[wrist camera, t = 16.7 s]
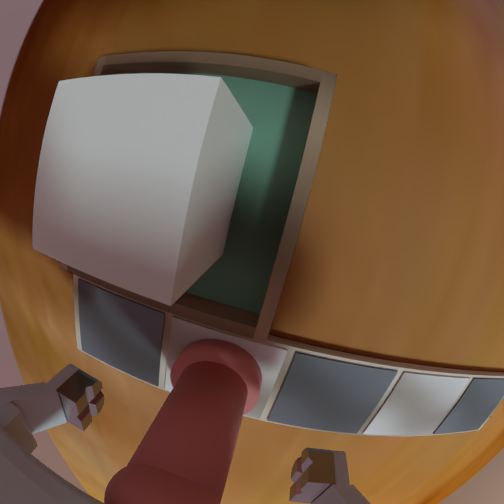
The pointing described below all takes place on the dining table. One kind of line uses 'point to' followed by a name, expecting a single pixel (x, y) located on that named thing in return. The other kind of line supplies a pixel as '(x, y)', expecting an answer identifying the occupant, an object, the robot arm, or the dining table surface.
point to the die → (140, 178)
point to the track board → (292, 373)
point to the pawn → (192, 429)
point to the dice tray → (249, 182)
